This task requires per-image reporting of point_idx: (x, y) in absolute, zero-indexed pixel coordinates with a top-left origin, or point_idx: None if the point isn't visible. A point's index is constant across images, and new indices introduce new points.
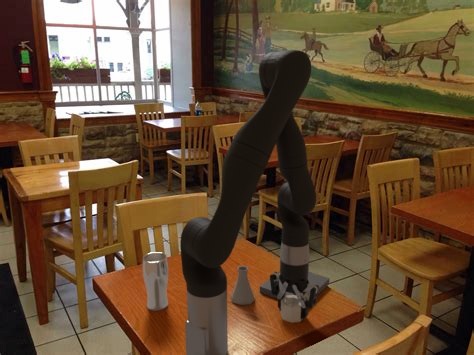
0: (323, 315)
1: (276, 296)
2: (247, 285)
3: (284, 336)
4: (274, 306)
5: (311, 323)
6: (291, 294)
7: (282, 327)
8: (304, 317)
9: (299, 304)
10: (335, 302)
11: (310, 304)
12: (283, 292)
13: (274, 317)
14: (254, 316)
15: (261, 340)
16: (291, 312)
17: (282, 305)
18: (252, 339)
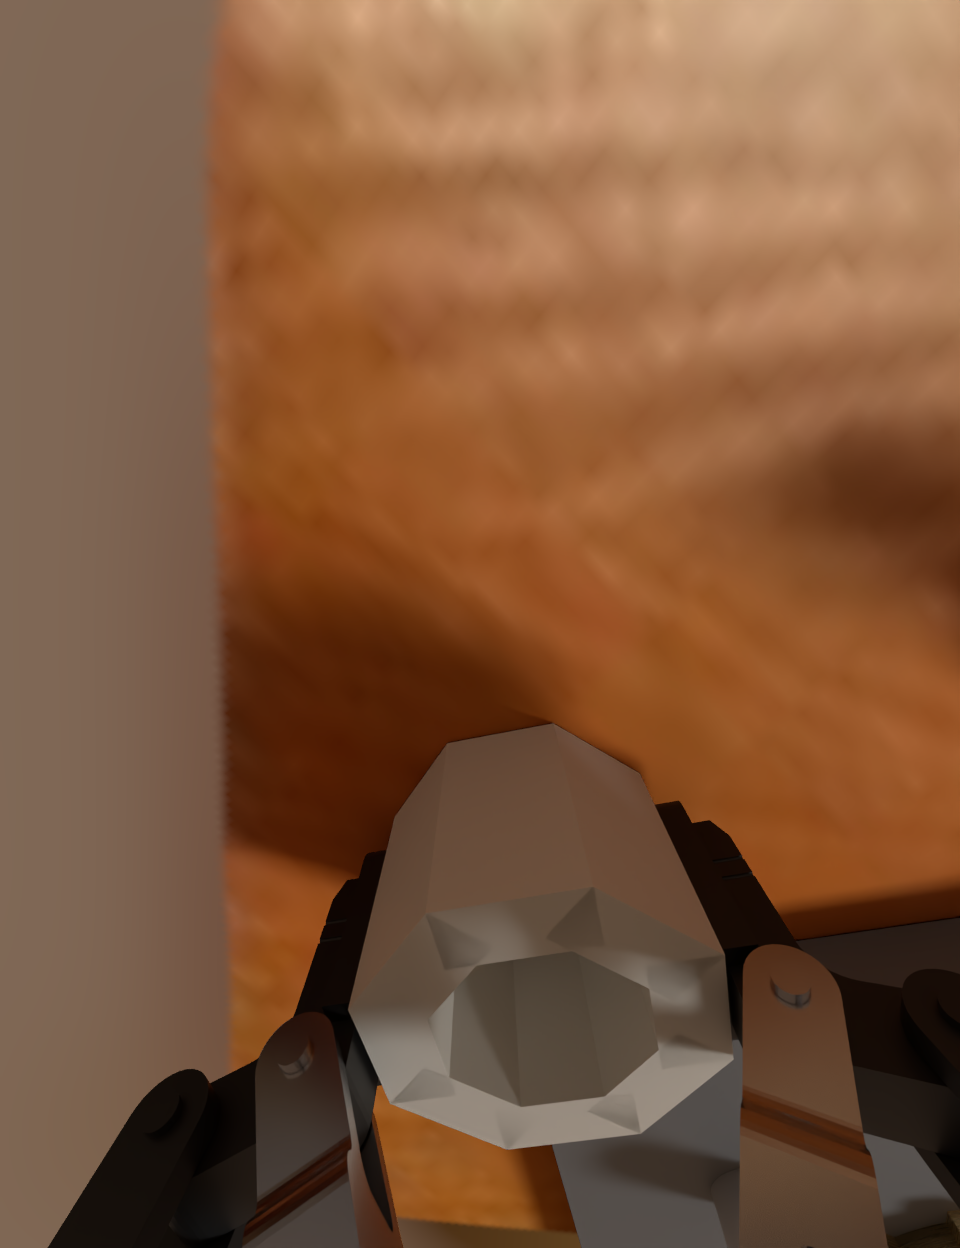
0: None
1: (873, 955)
2: None
3: (300, 492)
4: (787, 826)
5: (303, 868)
6: (737, 1075)
7: (450, 609)
8: (350, 885)
9: (408, 1036)
10: (400, 1167)
11: (126, 1171)
12: (749, 1197)
13: (654, 682)
14: (880, 510)
15: (432, 137)
16: (434, 841)
17: (627, 868)
18: (548, 16)
